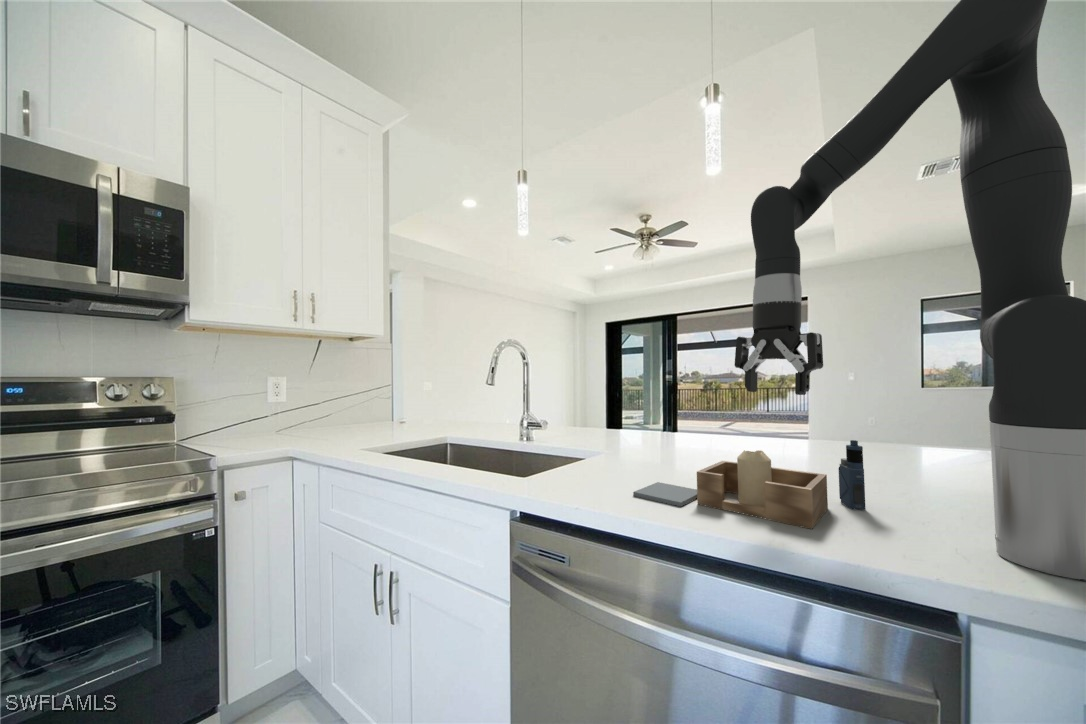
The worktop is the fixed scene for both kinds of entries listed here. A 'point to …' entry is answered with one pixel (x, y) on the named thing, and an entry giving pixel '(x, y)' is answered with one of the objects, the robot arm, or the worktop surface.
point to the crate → (768, 494)
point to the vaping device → (852, 477)
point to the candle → (753, 477)
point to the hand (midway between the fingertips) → (775, 393)
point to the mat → (667, 493)
